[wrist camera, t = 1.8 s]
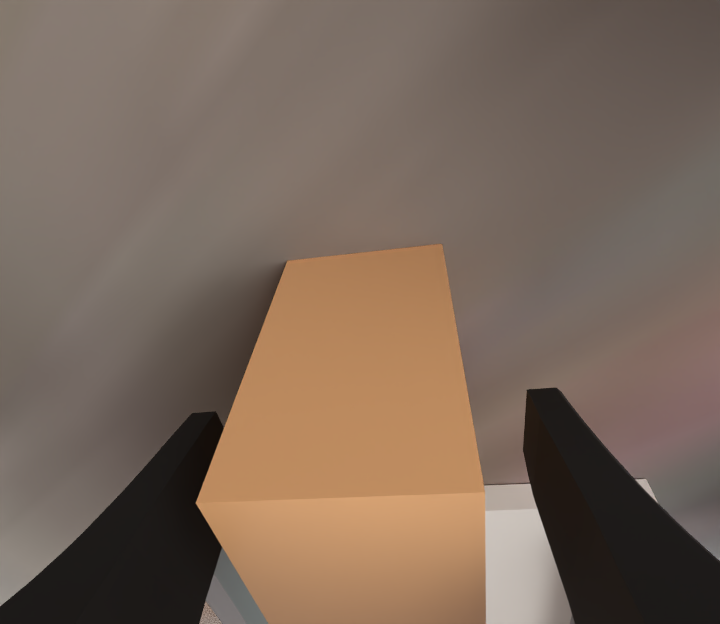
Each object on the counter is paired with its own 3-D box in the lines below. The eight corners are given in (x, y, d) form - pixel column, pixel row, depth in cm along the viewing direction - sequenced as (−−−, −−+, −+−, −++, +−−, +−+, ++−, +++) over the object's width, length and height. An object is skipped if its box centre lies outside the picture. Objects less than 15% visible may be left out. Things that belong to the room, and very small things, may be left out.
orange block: (442, 243, 12) (485, 492, 6) (452, 409, 15) (486, 669, 10) (287, 260, 12) (196, 502, 7) (330, 417, 16) (294, 667, 10)
